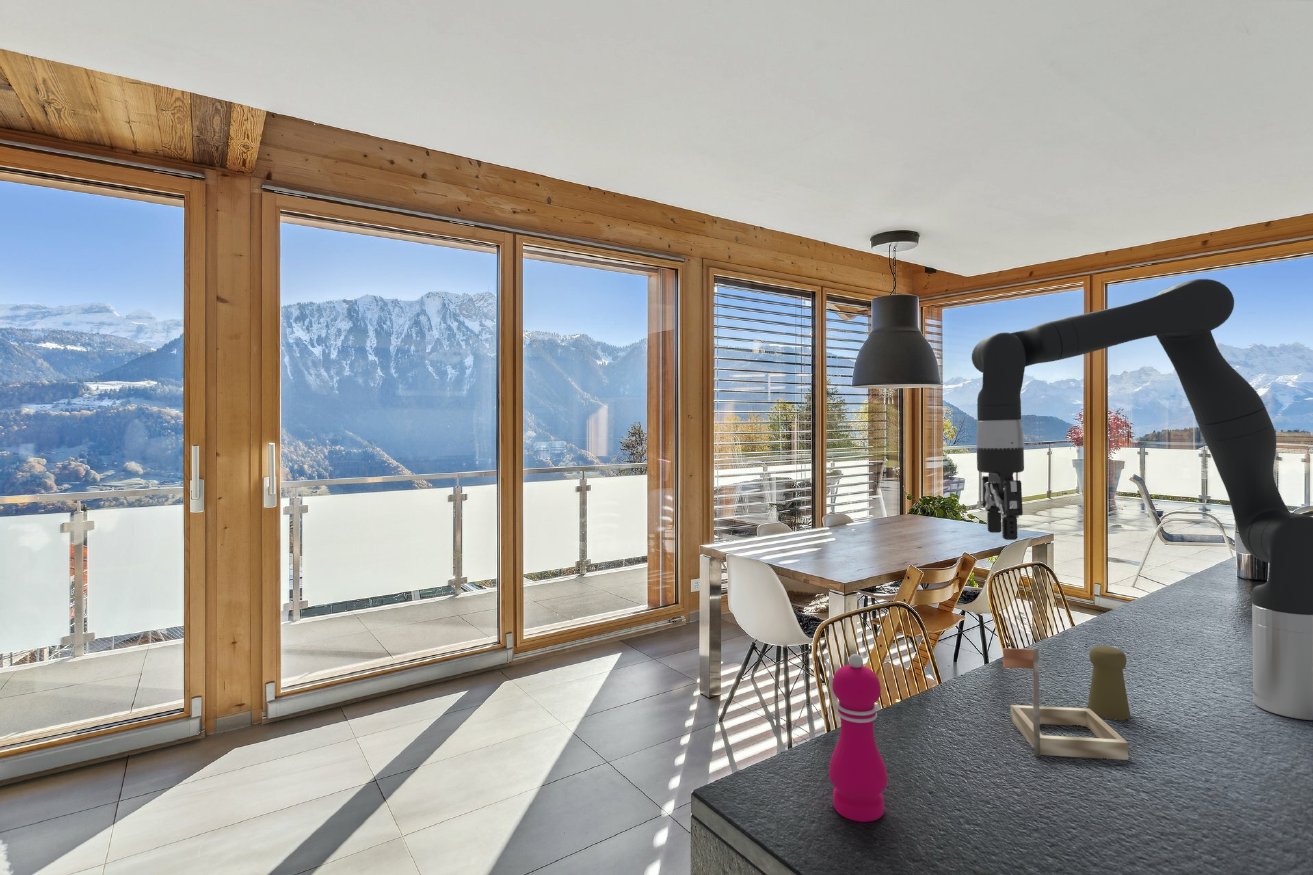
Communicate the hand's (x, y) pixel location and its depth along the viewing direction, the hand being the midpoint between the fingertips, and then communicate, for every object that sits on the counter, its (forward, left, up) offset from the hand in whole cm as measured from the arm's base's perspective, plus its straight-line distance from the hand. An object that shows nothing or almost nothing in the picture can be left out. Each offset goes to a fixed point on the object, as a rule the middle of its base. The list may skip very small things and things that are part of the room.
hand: (1001, 535), depth 120 cm
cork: (-15, +5, -29) cm, 33 cm away
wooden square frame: (-1, +16, -29) cm, 33 cm away
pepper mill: (+30, +40, -29) cm, 58 cm away
